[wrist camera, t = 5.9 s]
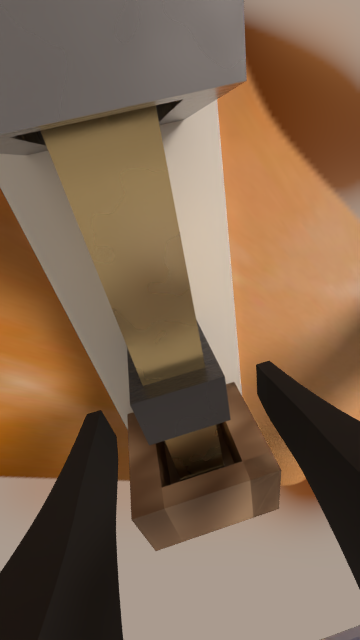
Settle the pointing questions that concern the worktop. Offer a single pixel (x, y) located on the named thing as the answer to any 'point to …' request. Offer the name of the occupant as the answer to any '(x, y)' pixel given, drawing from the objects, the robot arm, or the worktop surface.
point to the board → (78, 268)
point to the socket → (202, 481)
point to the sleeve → (112, 61)
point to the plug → (145, 279)
